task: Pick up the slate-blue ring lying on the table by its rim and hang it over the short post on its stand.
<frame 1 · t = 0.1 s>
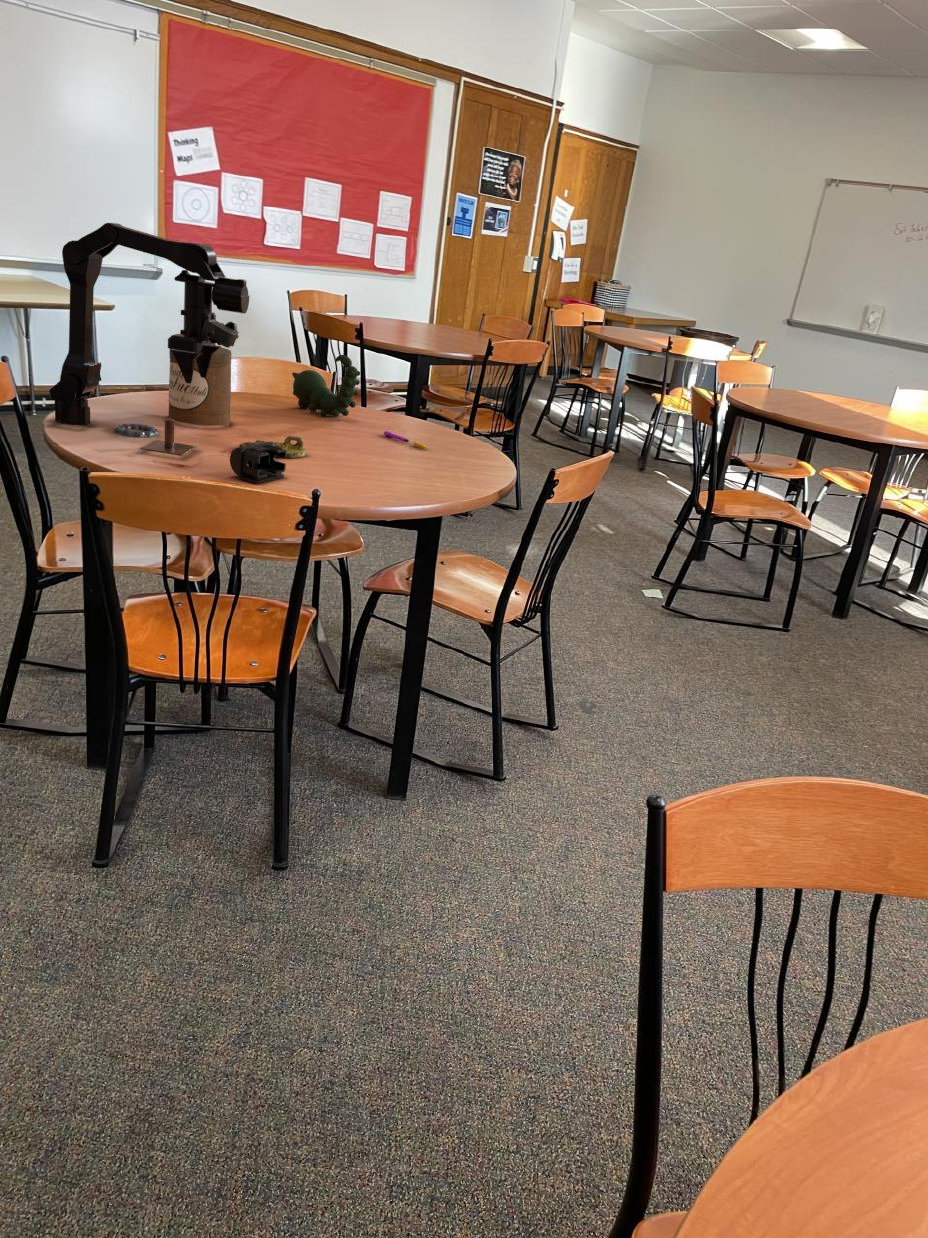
hand: (196, 380, 198), 15 cm above the table, tool pointing down, fingers open, 9 cm apart
ring: (136, 432, 203), point 1 cm above the table
wooden container: (199, 422, 226), on the table
seal: (272, 453, 208), on the table
toy figurine: (320, 413, 258), on the table
purple paintbrush: (406, 443, 239), on the table
end cap: (257, 477, 188), on the table
stand: (169, 452, 195), on the table
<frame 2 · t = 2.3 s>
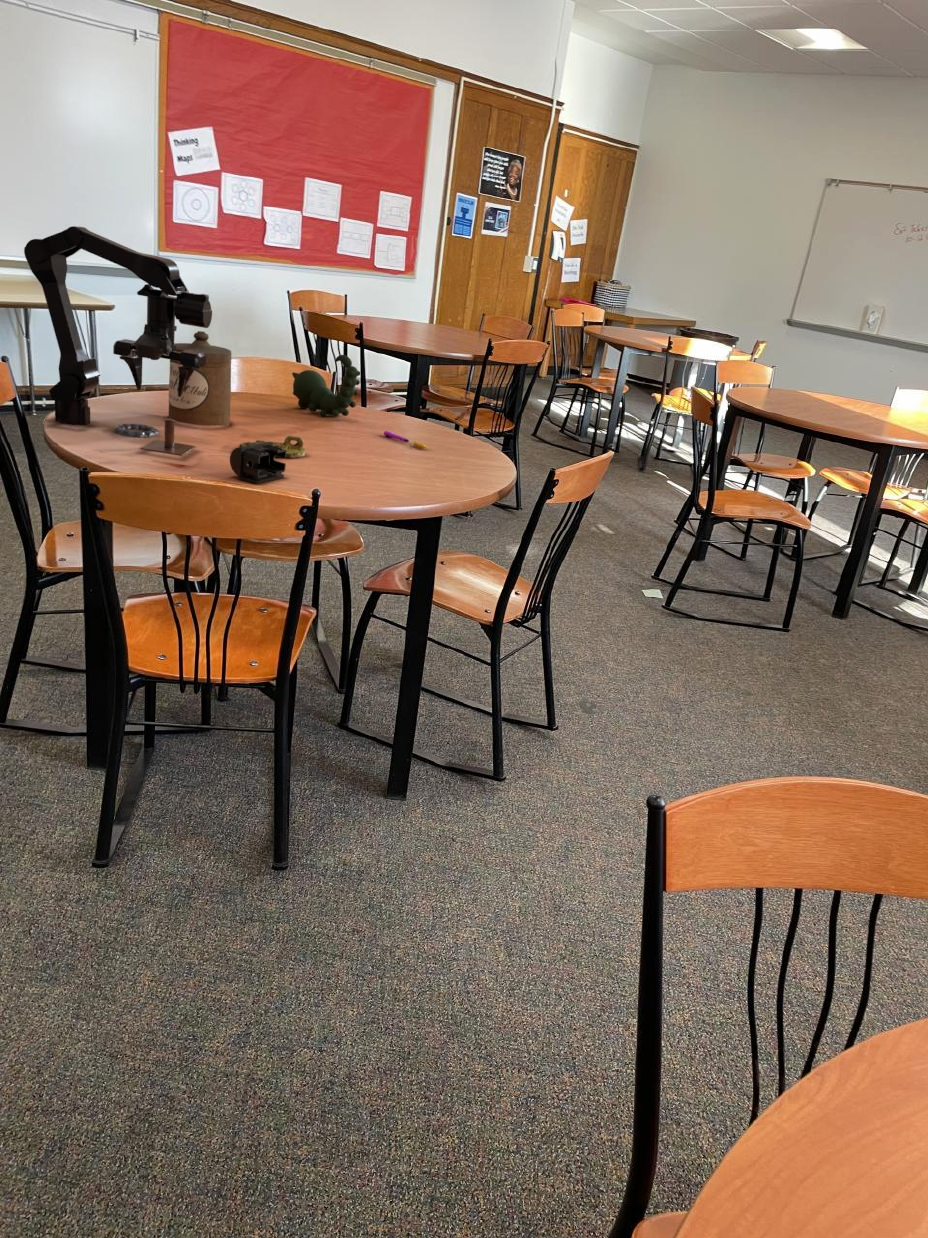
hand: (159, 393, 200), 11 cm above the table, tool pointing down, fingers open, 9 cm apart
nothing on the table moved.
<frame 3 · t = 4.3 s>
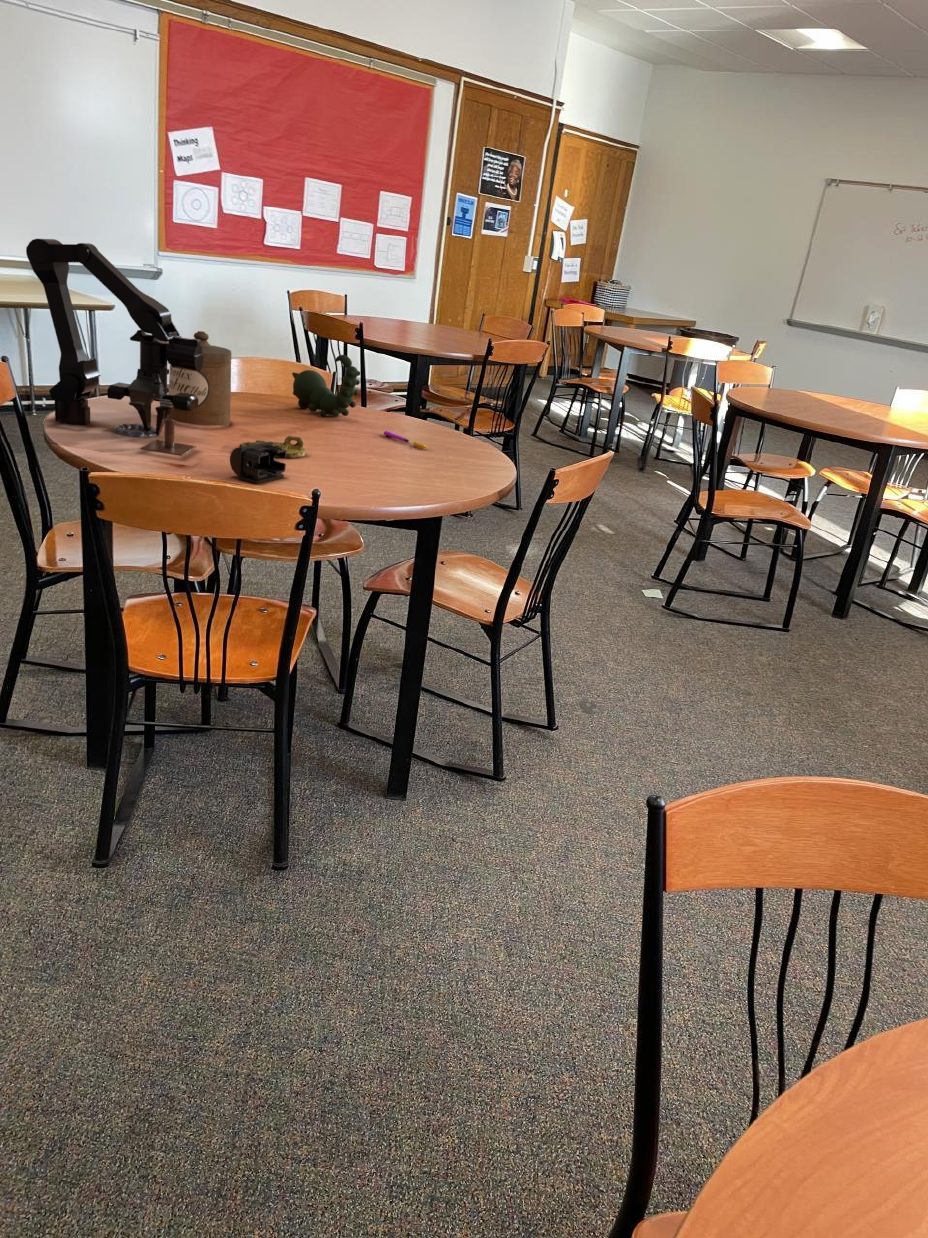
hand: (153, 434, 203), 1 cm above the table, tool pointing down, fingers closed on ring, 2 cm apart
ring: (136, 432, 203), point 1 cm above the table, touching gripper
everything else where it was.
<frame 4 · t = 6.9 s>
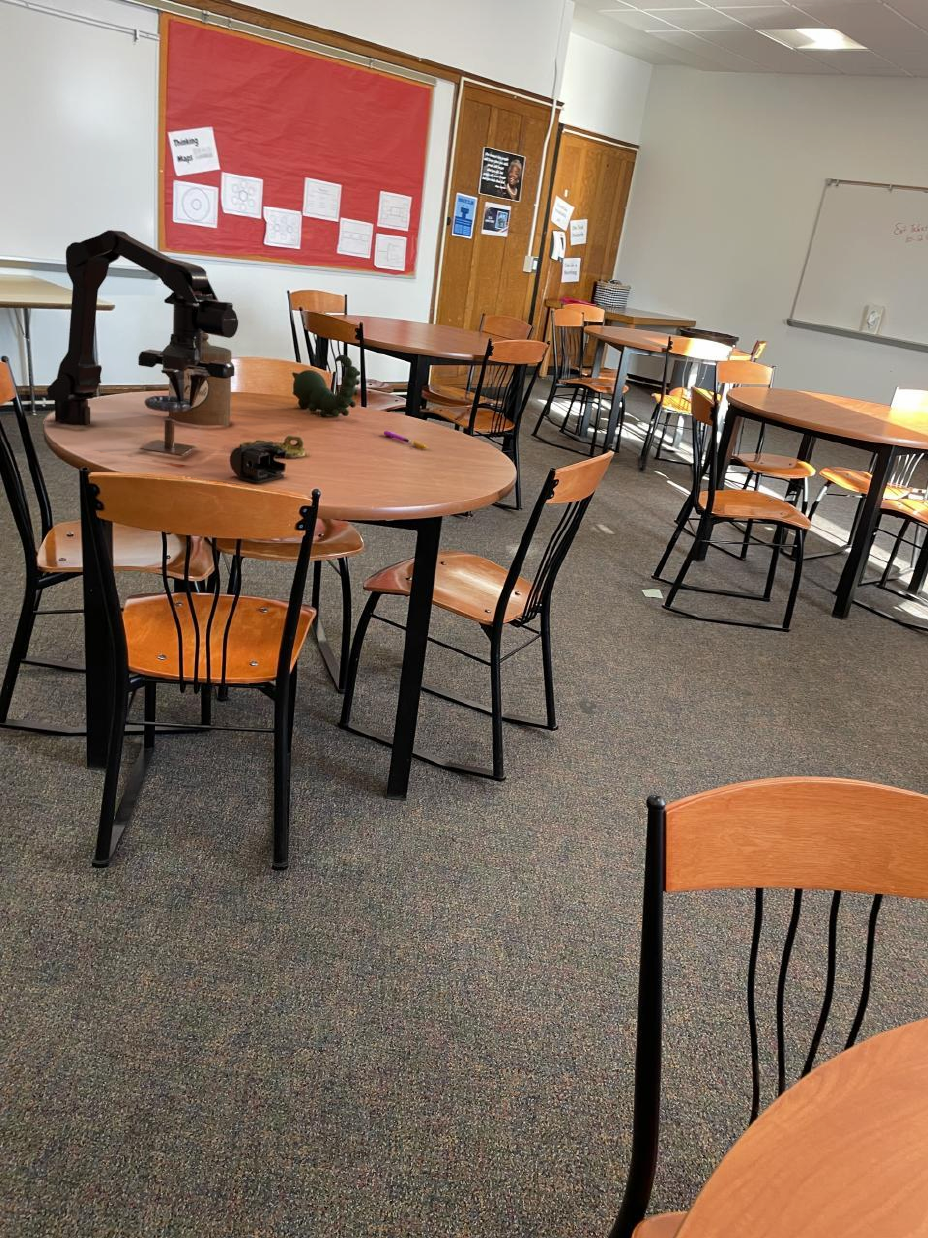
hand: (186, 405, 192), 11 cm above the table, tool pointing down, fingers closed on ring
ring: (168, 403, 192), point 10 cm above the table, touching gripper
everything else where it was.
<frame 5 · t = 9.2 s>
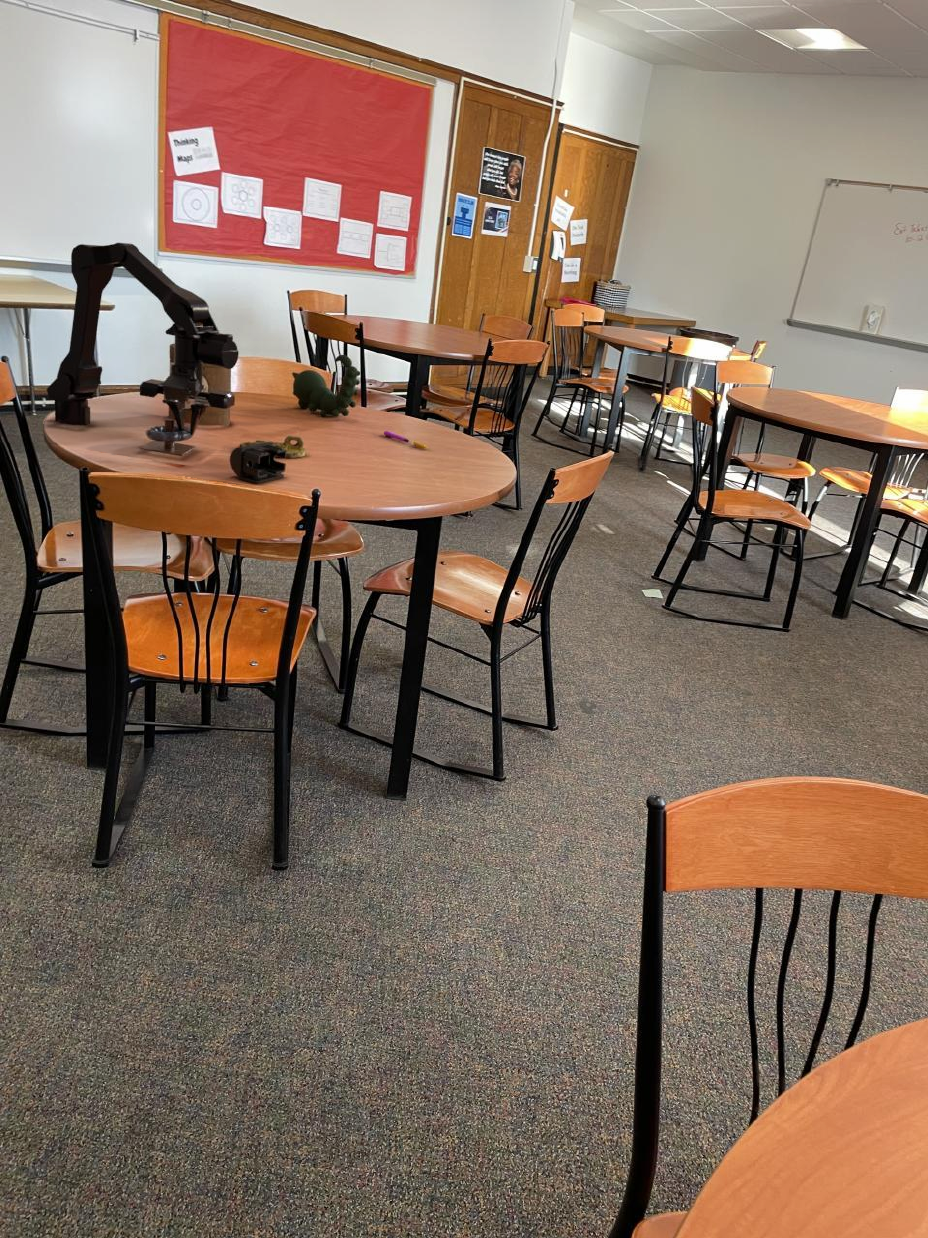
hand: (186, 434, 194), 5 cm above the table, tool pointing down, fingers closed on ring, 2 cm apart
ring: (169, 433, 194), point 4 cm above the table, tilted 5°, touching gripper
everything else where it was.
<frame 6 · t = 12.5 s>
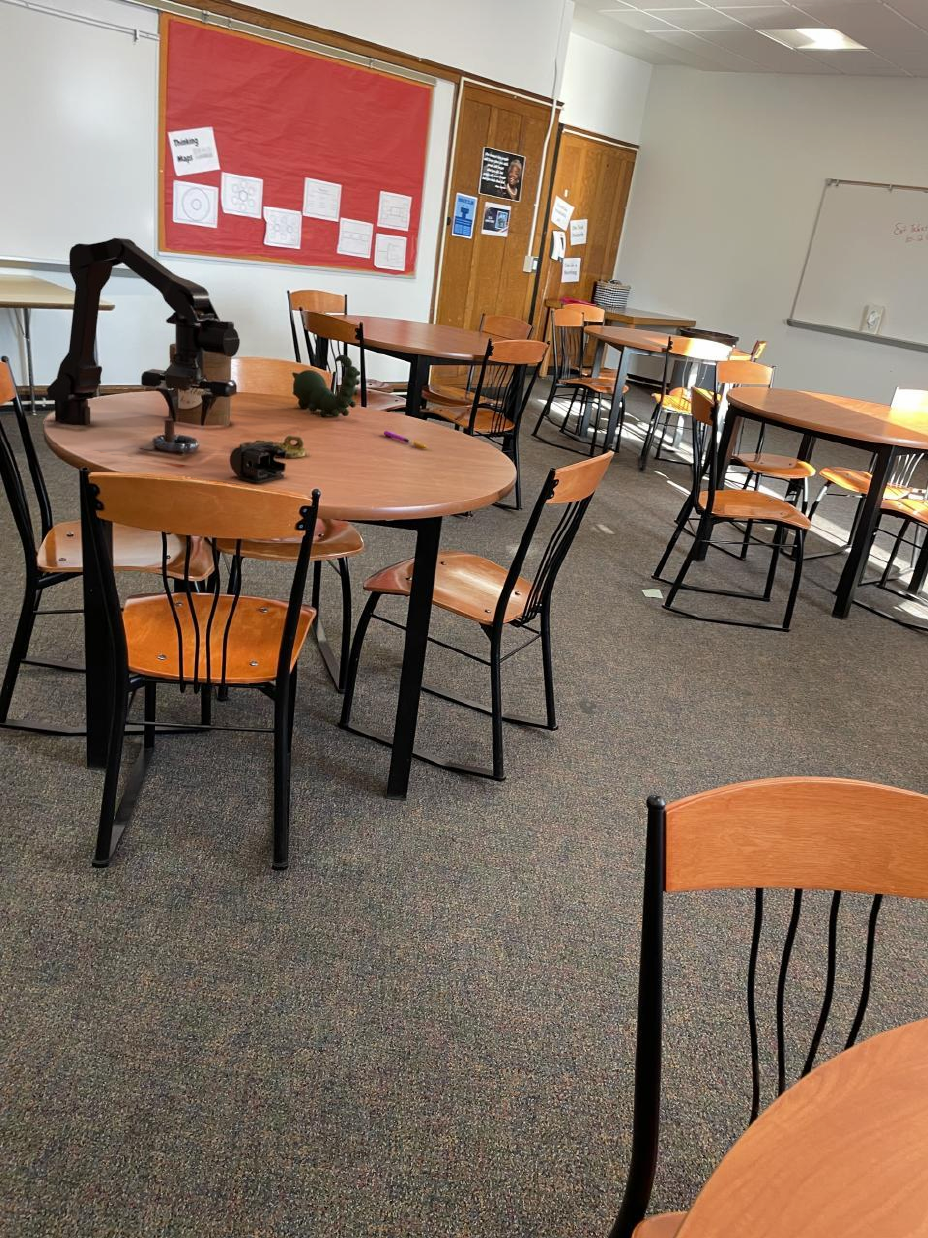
hand: (189, 423, 193), 7 cm above the table, tool pointing down, fingers open, 6 cm apart
ring: (175, 443, 195), point 2 cm above the table, touching stand
everything else where it was.
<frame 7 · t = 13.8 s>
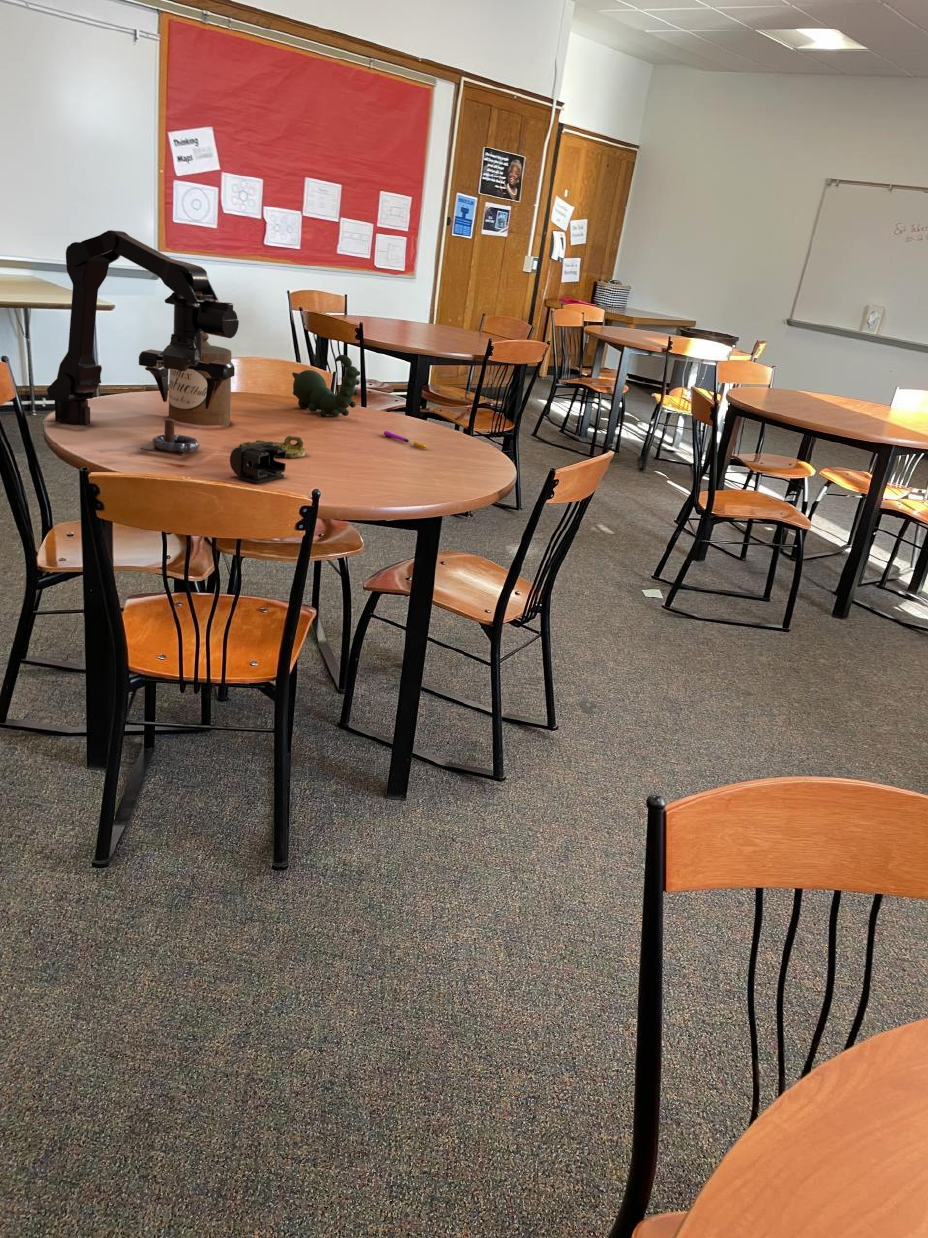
hand: (186, 405, 192), 11 cm above the table, tool pointing down, fingers open, 9 cm apart
nothing on the table moved.
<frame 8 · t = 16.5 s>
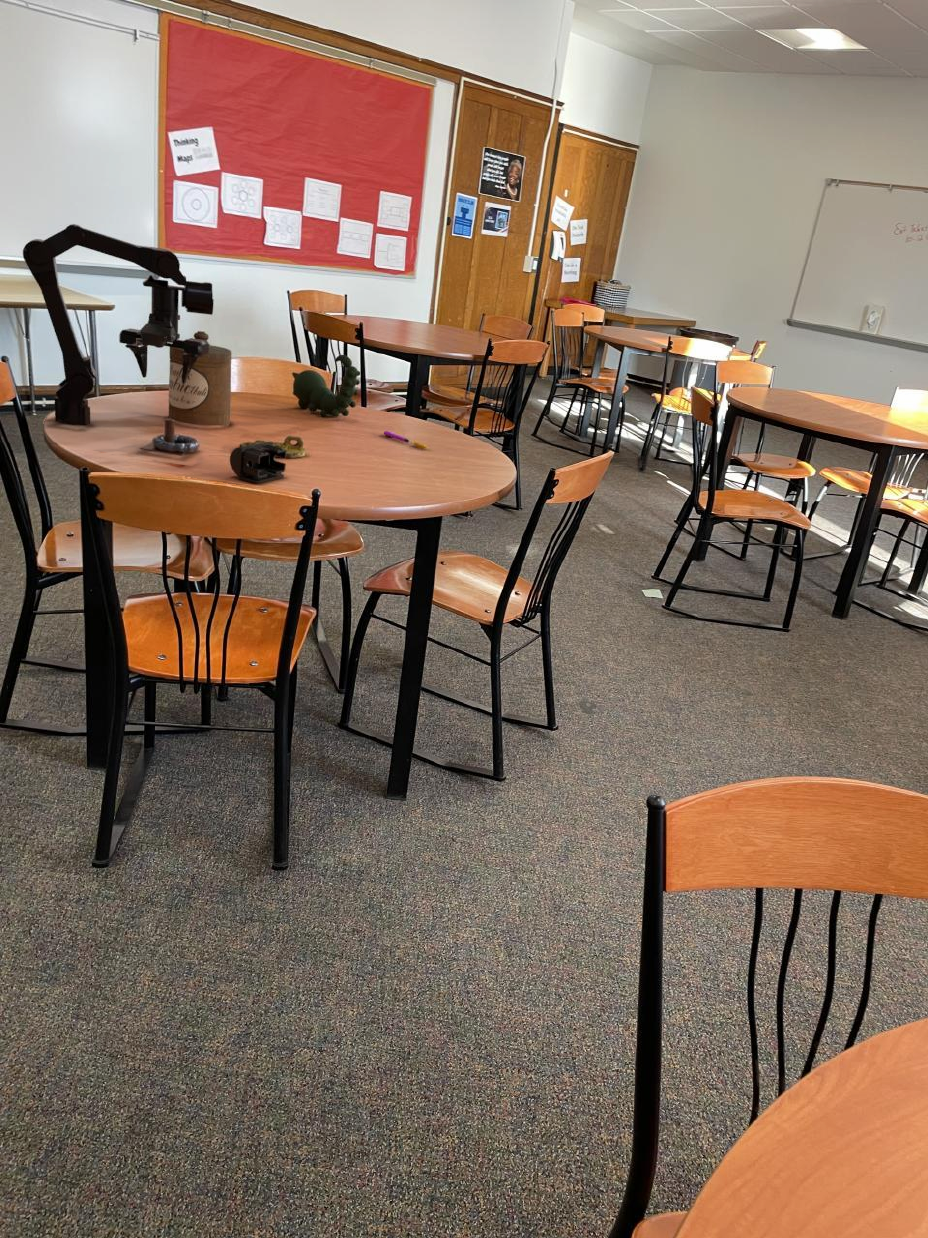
hand: (164, 380, 207), 12 cm above the table, tool pointing down, fingers open, 9 cm apart
nothing on the table moved.
at the end: ring 1.4 cm from the stand (horizontally); ring point 2.2 cm above the table; the gripper is holding nothing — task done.
